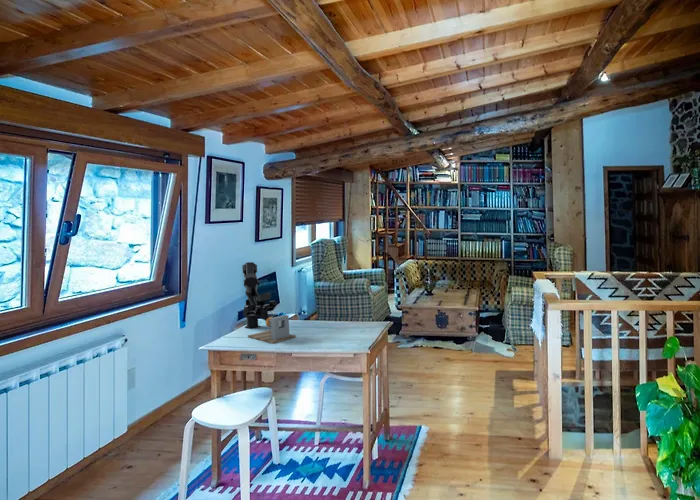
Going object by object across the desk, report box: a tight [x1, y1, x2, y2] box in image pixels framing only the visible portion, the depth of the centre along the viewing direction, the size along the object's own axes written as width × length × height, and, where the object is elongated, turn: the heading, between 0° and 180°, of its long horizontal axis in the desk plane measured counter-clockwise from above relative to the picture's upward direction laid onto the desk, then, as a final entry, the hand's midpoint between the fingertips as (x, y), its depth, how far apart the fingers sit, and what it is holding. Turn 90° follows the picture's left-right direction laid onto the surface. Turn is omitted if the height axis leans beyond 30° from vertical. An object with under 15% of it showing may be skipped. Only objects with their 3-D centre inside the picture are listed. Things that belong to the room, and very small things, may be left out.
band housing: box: [269, 314, 290, 340], centre depth 249 cm, size 3×9×10 cm, turn 138°
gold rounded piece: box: [265, 316, 282, 328], centre depth 252 cm, size 8×5×5 cm, turn 48°
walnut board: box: [247, 329, 297, 345], centre depth 254 cm, size 20×15×1 cm
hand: (267, 320), depth 255 cm, fingers closed
